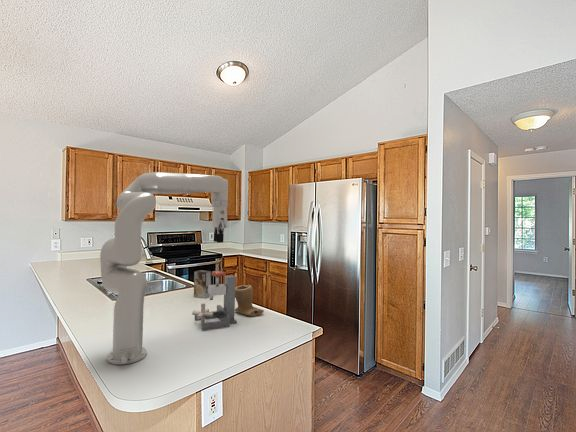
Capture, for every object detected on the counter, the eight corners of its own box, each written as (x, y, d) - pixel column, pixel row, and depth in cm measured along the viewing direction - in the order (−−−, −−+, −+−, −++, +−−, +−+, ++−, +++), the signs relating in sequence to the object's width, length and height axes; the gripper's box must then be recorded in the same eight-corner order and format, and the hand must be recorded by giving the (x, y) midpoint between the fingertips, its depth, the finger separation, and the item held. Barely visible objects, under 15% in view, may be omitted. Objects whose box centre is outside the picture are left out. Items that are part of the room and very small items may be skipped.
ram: (226, 299, 149) (226, 272, 149) (210, 301, 145) (211, 273, 145) (222, 297, 154) (223, 270, 154) (207, 298, 150) (208, 271, 150)
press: (239, 325, 146) (240, 279, 146) (202, 330, 138) (204, 281, 138) (228, 315, 161) (229, 273, 161) (194, 319, 152) (195, 275, 152)
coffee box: (211, 296, 197) (212, 271, 197) (205, 298, 191) (206, 272, 191) (198, 294, 200) (199, 269, 200) (193, 296, 194) (193, 271, 194)
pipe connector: (207, 329, 140) (208, 307, 140) (187, 327, 142) (188, 305, 142) (216, 321, 150) (217, 301, 150) (197, 319, 152) (198, 299, 152)
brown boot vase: (228, 312, 165) (229, 284, 165) (245, 308, 174) (246, 281, 174) (247, 320, 154) (248, 290, 155) (264, 314, 163) (265, 286, 163)
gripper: (232, 204, 144) (231, 243, 144) (222, 204, 158) (220, 240, 158) (216, 203, 140) (215, 243, 140) (207, 204, 155) (206, 240, 155)
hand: (218, 241), depth 149 cm, fingers open, 4 cm apart
